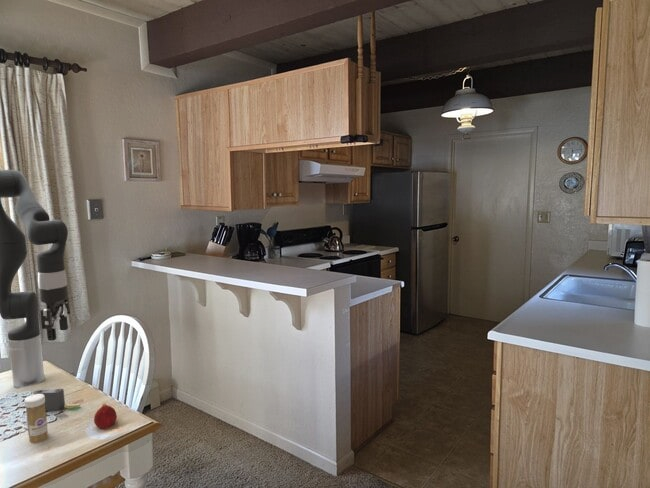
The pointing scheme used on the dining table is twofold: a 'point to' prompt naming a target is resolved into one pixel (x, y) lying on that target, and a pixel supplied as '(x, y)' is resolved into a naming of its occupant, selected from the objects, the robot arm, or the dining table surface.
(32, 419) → the sprinkles bottle
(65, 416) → the tuner board
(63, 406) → the peg knob
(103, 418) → the onion
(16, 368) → the robot arm
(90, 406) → the dining table surface
